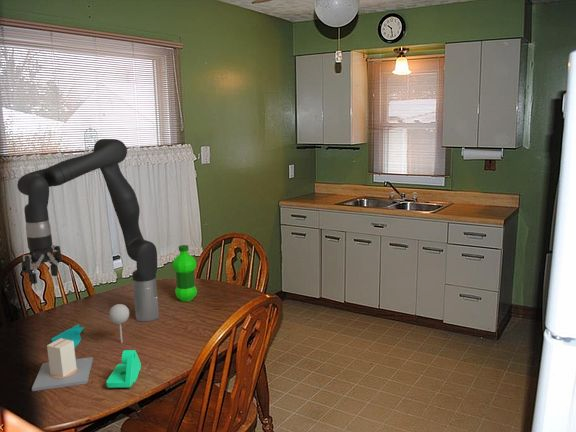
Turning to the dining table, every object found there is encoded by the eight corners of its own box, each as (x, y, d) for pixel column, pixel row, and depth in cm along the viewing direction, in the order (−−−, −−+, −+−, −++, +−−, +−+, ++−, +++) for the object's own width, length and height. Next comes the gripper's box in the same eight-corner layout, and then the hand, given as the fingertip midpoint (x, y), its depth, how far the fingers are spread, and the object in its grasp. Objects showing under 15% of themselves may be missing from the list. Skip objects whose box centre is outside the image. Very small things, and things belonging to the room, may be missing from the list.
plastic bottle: (186, 293, 237) (183, 242, 231) (202, 298, 231) (200, 245, 225) (170, 300, 229) (166, 247, 223) (186, 305, 223) (183, 250, 217)
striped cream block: (64, 365, 170) (60, 337, 167) (76, 368, 168) (73, 340, 165) (50, 373, 165) (46, 344, 162) (63, 377, 162) (59, 347, 160)
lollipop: (135, 339, 191) (132, 302, 187) (123, 348, 184) (120, 309, 181) (119, 337, 193) (116, 300, 190) (107, 345, 186) (103, 307, 183)
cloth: (66, 325, 205) (66, 320, 205) (100, 325, 205) (99, 320, 204) (34, 357, 180) (33, 351, 179) (72, 356, 180) (71, 350, 179)
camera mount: (118, 370, 169) (116, 342, 166) (141, 370, 169) (139, 342, 166) (106, 390, 157) (103, 360, 155) (130, 390, 157) (128, 360, 155)
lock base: (92, 359, 176) (91, 343, 174) (87, 383, 161) (85, 365, 159) (42, 366, 172) (40, 349, 171) (32, 391, 157) (29, 373, 155)
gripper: (28, 240, 163) (34, 287, 166) (64, 230, 175) (68, 274, 179) (12, 237, 166) (18, 284, 169) (48, 228, 178) (53, 271, 182)
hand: (44, 279), depth 174 cm, fingers open, 8 cm apart
